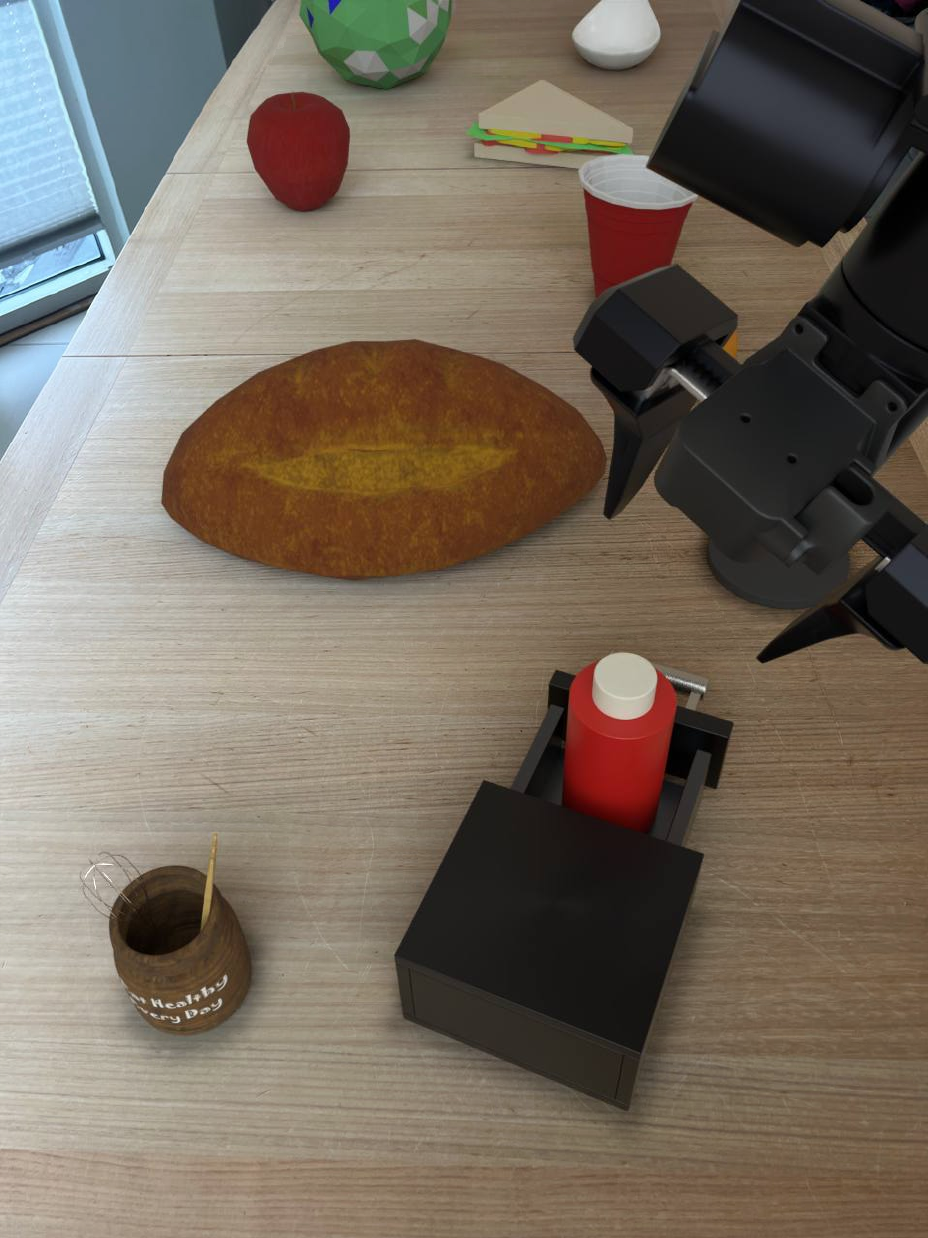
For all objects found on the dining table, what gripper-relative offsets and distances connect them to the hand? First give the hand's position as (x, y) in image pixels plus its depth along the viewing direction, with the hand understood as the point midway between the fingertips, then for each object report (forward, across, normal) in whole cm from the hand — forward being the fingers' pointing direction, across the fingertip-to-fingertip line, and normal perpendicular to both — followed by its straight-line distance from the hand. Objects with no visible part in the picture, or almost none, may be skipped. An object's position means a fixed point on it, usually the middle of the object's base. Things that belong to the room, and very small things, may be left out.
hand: (685, 584), depth 47 cm
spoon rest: (+26, -69, +106) cm, 129 cm away
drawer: (+16, +4, +3) cm, 17 cm away
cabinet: (+18, +8, -8) cm, 21 cm away
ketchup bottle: (+16, +4, +1) cm, 16 cm away
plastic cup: (+21, -28, +49) cm, 60 cm away
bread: (+26, -23, +14) cm, 37 cm away
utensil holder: (+24, -4, -20) cm, 31 cm away
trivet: (+14, 0, +26) cm, 30 cm away
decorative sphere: (+37, -85, +78) cm, 121 cm away
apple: (+35, -65, +45) cm, 87 cm away
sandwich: (+26, -53, +71) cm, 93 cm away
